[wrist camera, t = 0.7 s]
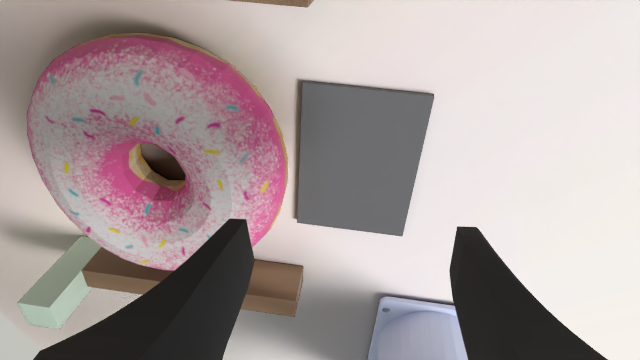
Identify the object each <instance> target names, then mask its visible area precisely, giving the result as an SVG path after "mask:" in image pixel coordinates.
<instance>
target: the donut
mask: <svg viewBox="0 0 640 360" xmlns="http://www.w3.org/2000/svg"><path fill="white" fill-rule="evenodd" d="M27 135H28V139H29V143H30V148H31V152H32V156H33V159H34V161H35V164H36V166H37V168H38V171H39V173H40V176H41V178H42V180H43V182H44V184H45V185H46V187H47V189H48V190H49V192H50V193H51V195H52V197H53V198H54V200H55V202H56V203H57V205H58V206H59V207H60V208H61V209H62V211H63V212H64V213H65V214H66V215H67V217H68V218H69V219H70V220H71V221H72V222H73V223H74V224H75V225H76V226H77V227H78V228H79V229H80V230H81V231H83V232H84V233H85V234H86V235H87V236H88V237H89V238H91V239H92V240H94V241H95V242H96V243H98V244H99V245H100V246H102V247H103V248H105V249H106V250H108V251H110V252H112V253H114V254H115V255H117V256H119V257H121V258H123V259H126V260H128V261H131V262H134V263H136V264H139V265H143V266H147V267H152V268H157V269H162V270H176V269H177V268H178V267H179V266H180V265H181V264H183V263H184V262H185V261H186V260H187V259H188V258H189V257H190V256H191V255H193V254H194V253H195V252H196V251H197V250H198V249H199V248H200V247H201V246H202V245H203V244H204V243H205V242H206V241H207V240H208V239H209V238H210V237H211V236H212V235H213V234H214V233H215V232H216V231H217V230H218V229H219V228H220V227H221V226H222V225H223V224H224V223H226V222H227V221H228V220H229V219H246V221H247V226H248V231H249V236H250V241H251V246H254V245H255V244H256V243H257V242H258V241H259V240H260V239H261V238H262V237H263V236H264V235H265V234H266V233H267V232H268V231H269V230H270V228H271V226H272V225H273V223H274V221H275V219H276V218H277V216H278V214H279V212H280V209H281V205H282V202H283V198H284V194H285V190H286V186H287V182H288V158H287V153H286V149H285V145H284V140H283V136H282V132H281V130H280V128H279V126H278V124H277V122H276V119H275V117H274V115H273V113H272V111H271V109H270V107H269V106H268V104H267V103H266V102H265V100H264V99H263V98H262V96H261V95H260V94H259V92H258V91H257V90H256V88H255V87H254V86H253V84H251V83H250V82H249V81H248V80H247V79H246V78H245V77H244V76H243V75H241V74H240V73H239V72H238V71H237V70H236V69H235V68H234V67H232V66H231V65H230V64H229V63H227V62H225V61H224V60H222V59H220V58H218V57H217V56H215V55H213V54H212V53H210V52H208V51H207V50H205V49H203V48H201V47H198V46H195V45H192V44H190V43H187V42H184V41H181V40H178V39H176V38H173V37H167V36H161V35H154V34H148V33H120V34H111V35H107V36H104V37H100V38H97V39H93V40H90V41H87V42H84V43H82V44H79V45H76V46H74V47H72V48H71V49H69V50H68V51H66V52H64V53H63V54H61V55H60V56H58V57H57V58H55V59H54V60H53V61H52V62H51V63H50V65H49V66H48V67H47V69H46V70H45V71H44V73H43V74H42V75H41V77H40V78H39V80H38V82H37V85H36V87H35V90H34V92H33V96H32V99H31V102H30V105H29V108H28V111H27ZM141 144H155V145H157V146H159V147H160V148H162V149H163V150H165V151H167V152H168V153H170V154H172V155H173V156H174V157H175V159H176V160H177V162H178V163H179V165H180V166H181V168H182V170H183V171H184V173H185V174H186V175H185V180H167V179H166V178H164V177H162V176H160V175H159V174H157V173H155V172H154V171H153V170H152V169H151V168H150V167H149V166H148V164H147V163H146V161H145V160H144V158H143V157H142V155H141Z"/></svg>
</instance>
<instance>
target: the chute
mask: <svg viewBox="0 0 640 360" xmlns="http://www.w3.org/2000/svg"><path fill="white" fill-rule="evenodd" d="M231 1H242V2H253V3H264V4H275V5H286V6H297V7H308V6H309V5H310V4H311V3H312V2H313V0H231ZM173 271H175V270H162V269H157V268H152V267H147V266H143V265H139V264H136V263H134V262H131V261H128V260H126V259H123V258H121V257H119V256H117V255H115V254H114V253H112V252H110V251H108V250H106V249H105V248H103V247H102V246H100V245H99V244H98V243H96V242H95V241H94V240H92V239H91V238H89V237H86V236H80V237H79V238H78V239H77V240H76V242H75V243H74V244H73V245H72V246H71V247H70V248H69V249H68V250H67V251H66V252H65V253H64V254H63V255H62V256H61V257H60V258H59V259H58V260H57V261H56V263H55V264H54V265H53V266H52V267H51V268H50V269H49V270H48V271H47V272H46V273H45V274H44V275H43V276H42V277H41V278H40V279H39V280H38V281H37V283H36V284H35V285H34V286H33V287H32V288H31V289H30V290H29V291H28V292H27V293H26V294H25V295H24V296H23V297H22V298H21V299H20V300H19V301H18V302H17V303H18V305H19V307H20V309H21V311H22V313H23V315H24V317H25V319H26V320H27V322H28V324H29V325H35V326H41V327H47V328H54V329H60V328H61V327H62V325H63V324H64V323H65V322H66V320H67V319H68V318H69V317H70V315H71V314H72V313H73V311H74V310H75V309H76V308H77V306H78V305H79V304H80V303H81V301H82V300H83V299H84V298H85V296H86V295H87V294H88V292H89V291H90V290H91V289H92V287H95V288H102V289H109V290H115V291H122V292H129V293H136V294H145V293H146V292H148V291H149V290H150V289H152V288H153V287H154V286H156V285H157V284H159V283H160V282H161V281H162V280H164V279H165V278H166V277H167V276H169V275H170V274H171V273H172V272H173ZM302 282H303V266H297V265H289V264H282V263H275V262H268V261H260V260H254V266H253V270H252V275H251V279H250V283H249V287H248V290H247V292H246V295H245V298H244V301H243V303H242V306H241V309H245V310H252V311H258V312H265V313H272V314H279V315H286V316H292V317H295V314H296V309H297V305H298V300H299V296H300V291H301V286H302Z"/></svg>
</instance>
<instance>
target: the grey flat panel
mask: <svg viewBox="0 0 640 360" xmlns="http://www.w3.org/2000/svg"><path fill="white" fill-rule="evenodd" d="M433 100H434V94H428V93H418V92H409V91H399V90H390V89H380V88H370V87H361V86H351V85H341V84H332V83H322V82H312V81H303V82H302V107H301V133H300V159H299V186H298V212H297V223H303V224H311V225H319V226H327V227H334V228H342V229H350V230H357V231H365V232H373V233H381V234H388V235H396V236H402V235H403V231H404V226H405V222H406V218H407V213H408V209H409V204H410V200H411V196H412V191H413V187H414V183H415V178H416V174H417V170H418V165H419V161H420V156H421V152H422V148H423V143H424V139H425V135H426V130H427V126H428V121H429V117H430V113H431V108H432V104H433Z"/></svg>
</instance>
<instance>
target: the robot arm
mask: <svg viewBox="0 0 640 360" xmlns="http://www.w3.org/2000/svg"><path fill="white" fill-rule="evenodd" d="M253 266H254V256H253V251H252V246H251V241H250V236H249V231H248V226H247V221H246V219H229V220H228V221H227V222H226V223H224V224H223V225H222V226H221V227H220V228H219V229H218V230H217V231H216V232H215V233H214V234H213V235H212V236H211V237H210V238H209V239H208V240H207V241H206V242H205V243H204V244H203V245H202V246H201V247H200V248H199V249H198V250H197V251H196V252H195V253H194V254H193V255H191V256H190V257H189V258H188V259H187V260H186V261H185V262H184V263H183V264H181V265H180V266H179V267H178V268H177V269H176V270H175V271H173V272H172V273H171V274H170V275H169V276H167V277H166V278H165V279H164V280H162V281H161V282H160V283H159V284H157V285H156V286H154V287H153V288H152V289H150V290H149V291H148V292H146V293H145V294H143V295H142V296H141V297H139V298H138V299H136V300H134V301H133V302H131V303H130V304H128V305H127V306H125V307H123V308H122V309H120V310H119V311H117V312H116V313H114V314H112V315H111V316H109V317H107V318H105V319H104V320H102V321H100V322H98V323H96V324H95V325H93V326H91V327H89V328H87V329H85V330H83V331H81V332H79V333H77V334H76V335H73V336H71V337H69V338H67V339H65V340H63V341H61V342H59V343H56V344H54V345H52V346H50V347H48V348H46V349H43V350H41V351H40V352H39V353H38V354H37V355H36V357H35V358H34V359H33V360H222V358H223V355H224V352H225V349H226V346H227V343H228V340H229V337H230V335H231V332H232V330H233V327H234V324H235V322H236V319H237V316H238V314H239V311H240V309H241V306H242V303H243V301H244V298H245V295H246V292H247V290H248V287H249V283H250V279H251V275H252V270H253ZM450 279H451V288H452V296H453V301H454V306H452V305H445V304H438V303H431V302H424V301H417V300H409V299H402V298H395V297H388V296H386V297H383V298H381V299H380V303H379V307H378V312H377V317H376V321H375V326H374V331H373V335H372V340H371V345H370V349H369V354H368V359H367V360H607V359H606V358H605V357H603V356H602V355H601V354H599V353H598V352H597V351H595V350H594V349H593V348H591V347H590V346H589V345H588V344H586V343H585V342H584V341H583V340H581V339H580V338H579V337H578V336H576V335H575V334H574V333H573V332H571V331H570V330H569V329H568V328H567V327H566V326H564V325H563V324H562V323H561V322H560V321H559V320H558V319H557V318H555V317H554V316H553V315H552V314H551V313H550V312H549V311H548V310H547V309H546V308H545V307H544V306H543V305H542V304H541V303H540V302H539V301H538V300H537V299H536V298H535V297H534V296H533V295H532V294H531V293H530V292H529V291H528V290H527V289H526V288H525V286H524V285H523V284H522V283H521V282H520V281H519V280H518V279H517V277H516V276H515V275H514V274H513V273H512V272H511V270H510V269H509V268H508V267H507V266H506V264H505V263H504V262H503V261H502V259H501V258H500V257H499V256H498V254H497V253H496V252H495V251H494V249H493V248H492V247H491V245H490V244H489V243H488V241H487V240H486V239H485V237H484V236H483V234H482V233H481V232H480V230H479V229H478V228H477V227H457V231H456V237H455V242H454V248H453V254H452V260H451V265H450Z"/></svg>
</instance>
